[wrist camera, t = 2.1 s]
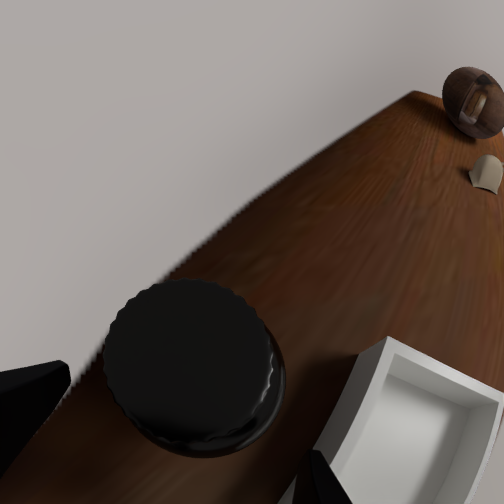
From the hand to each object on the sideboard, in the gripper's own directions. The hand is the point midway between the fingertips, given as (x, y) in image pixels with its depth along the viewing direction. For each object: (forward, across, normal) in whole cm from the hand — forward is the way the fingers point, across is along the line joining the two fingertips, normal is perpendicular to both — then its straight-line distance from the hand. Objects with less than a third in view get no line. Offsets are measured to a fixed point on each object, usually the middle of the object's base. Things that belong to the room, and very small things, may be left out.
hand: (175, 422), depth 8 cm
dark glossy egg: (+46, -34, -32) cm, 65 cm away
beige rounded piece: (+33, -32, -19) cm, 49 cm away
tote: (+6, -14, +7) cm, 17 cm away
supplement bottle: (+8, 0, +6) cm, 10 cm away
